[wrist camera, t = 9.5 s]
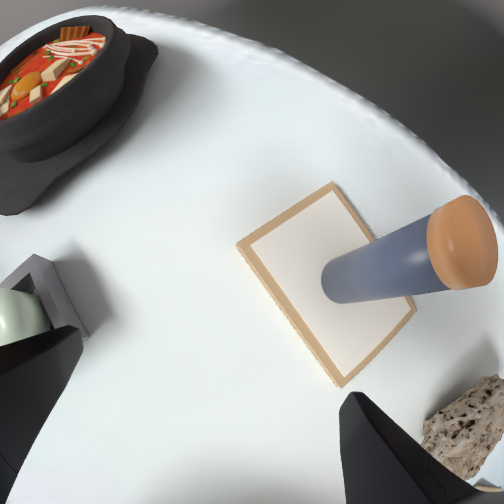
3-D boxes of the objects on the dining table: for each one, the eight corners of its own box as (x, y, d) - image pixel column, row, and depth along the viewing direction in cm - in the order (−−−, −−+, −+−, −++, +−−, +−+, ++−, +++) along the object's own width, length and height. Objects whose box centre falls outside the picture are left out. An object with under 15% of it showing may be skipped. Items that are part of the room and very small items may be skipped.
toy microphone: (366, 298, 21) (504, 273, 9) (326, 310, 20) (465, 297, 8) (355, 252, 22) (482, 193, 9) (314, 261, 21) (439, 197, 9)
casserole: (88, 38, 25) (77, -7, 17) (198, 62, 26) (201, 2, 17) (-35, 183, 18) (-74, 152, 10) (50, 258, 19) (-10, 229, 11)
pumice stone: (474, 350, 24) (526, 350, 16) (483, 419, 22) (525, 427, 14) (396, 425, 20) (452, 448, 13) (412, 489, 19) (454, 514, 11)
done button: (59, 329, 16) (31, 331, 13) (28, 353, 15) (-1, 358, 12) (37, 284, 17) (8, 276, 13) (8, 309, 16) (-21, 306, 12)
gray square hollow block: (89, 336, 18) (73, 339, 15) (36, 375, 16) (17, 380, 13) (51, 261, 19) (33, 253, 16) (3, 303, 17) (-17, 300, 14)
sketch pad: (410, 310, 23) (418, 309, 22) (335, 385, 20) (342, 389, 19) (327, 186, 24) (333, 180, 23) (235, 245, 22) (237, 241, 20)
